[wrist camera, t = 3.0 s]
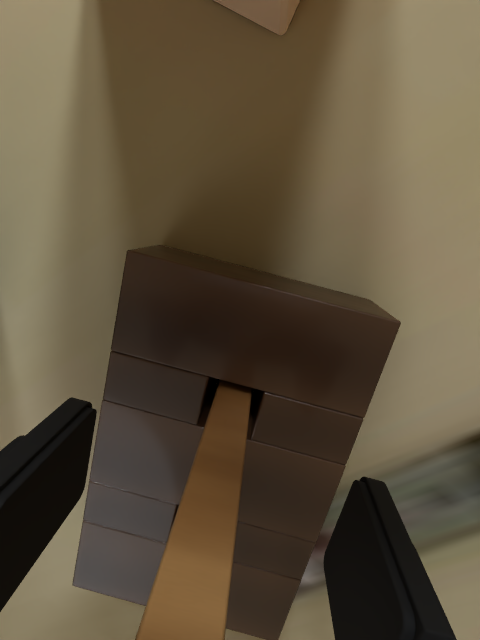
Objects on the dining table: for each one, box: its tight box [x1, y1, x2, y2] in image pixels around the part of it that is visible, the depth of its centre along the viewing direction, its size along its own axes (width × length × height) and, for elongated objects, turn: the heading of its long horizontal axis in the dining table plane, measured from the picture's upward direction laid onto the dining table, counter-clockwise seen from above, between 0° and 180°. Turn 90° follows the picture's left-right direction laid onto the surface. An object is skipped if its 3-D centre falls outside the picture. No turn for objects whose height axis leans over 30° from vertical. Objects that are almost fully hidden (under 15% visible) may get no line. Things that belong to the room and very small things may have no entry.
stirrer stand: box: [73, 245, 401, 640], centre depth 17 cm, size 16×10×4 cm, turn 166°
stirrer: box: [135, 380, 252, 640], centre depth 12 cm, size 1×1×13 cm
